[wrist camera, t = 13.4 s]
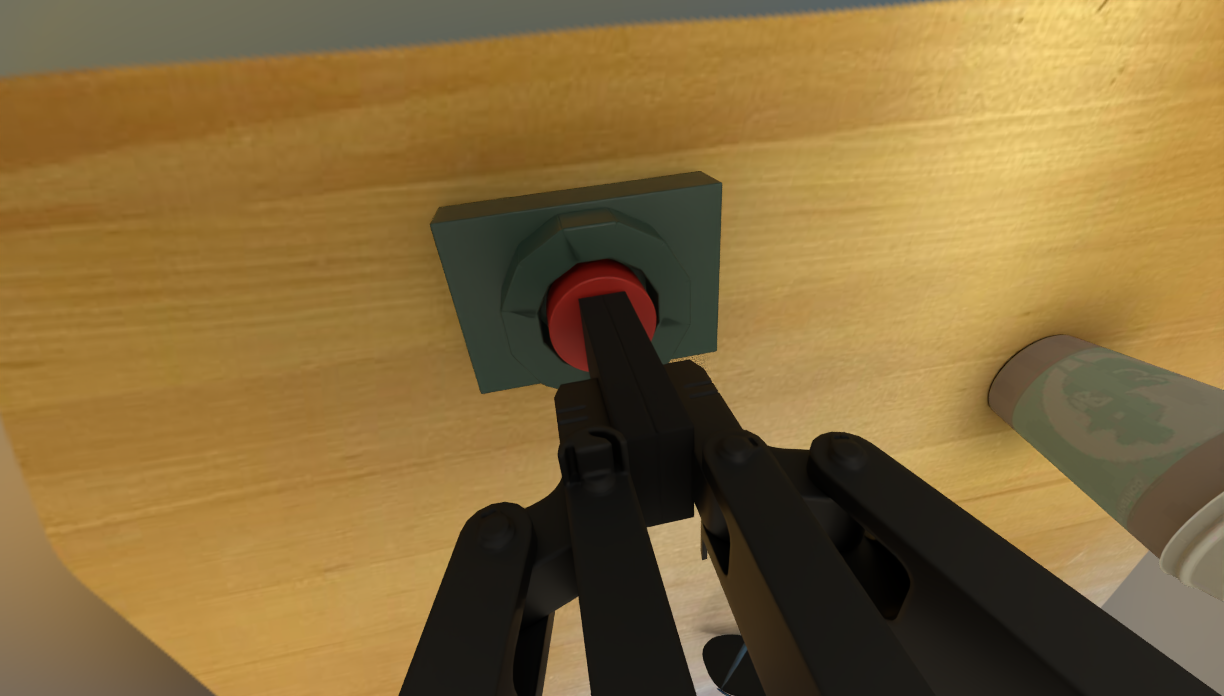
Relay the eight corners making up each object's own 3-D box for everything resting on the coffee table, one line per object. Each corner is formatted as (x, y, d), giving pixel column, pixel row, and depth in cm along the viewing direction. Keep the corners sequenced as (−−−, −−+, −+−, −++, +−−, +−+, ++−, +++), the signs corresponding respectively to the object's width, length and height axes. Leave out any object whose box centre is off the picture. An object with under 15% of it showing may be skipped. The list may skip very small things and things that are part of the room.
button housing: (483, 365, 21) (478, 423, 17) (437, 207, 17) (419, 241, 14) (699, 327, 22) (734, 374, 18) (701, 170, 18) (745, 194, 15)
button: (554, 355, 18) (558, 381, 16) (537, 266, 16) (540, 287, 14) (646, 339, 18) (659, 363, 16) (641, 250, 16) (654, 268, 15)
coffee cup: (1123, 292, 26) (1522, 438, 16) (1079, 406, 30) (1365, 575, 20) (978, 341, 25) (1285, 520, 15) (956, 448, 30) (1181, 639, 20)
